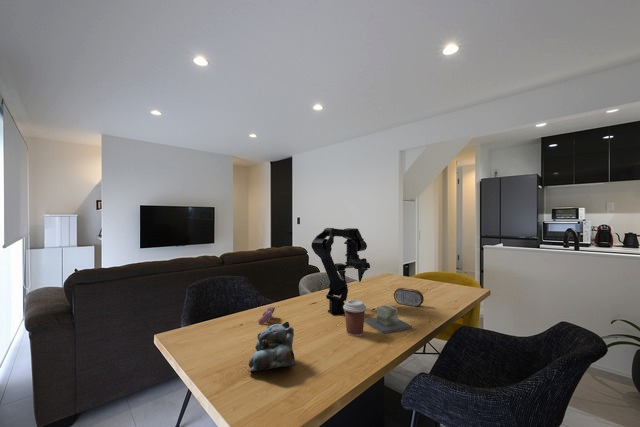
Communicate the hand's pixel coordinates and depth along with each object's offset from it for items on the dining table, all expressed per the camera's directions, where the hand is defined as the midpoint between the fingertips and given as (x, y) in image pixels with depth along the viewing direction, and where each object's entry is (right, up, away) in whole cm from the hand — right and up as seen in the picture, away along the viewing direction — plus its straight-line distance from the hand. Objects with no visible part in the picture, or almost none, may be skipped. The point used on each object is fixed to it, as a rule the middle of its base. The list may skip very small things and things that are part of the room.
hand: (352, 282), depth 142 cm
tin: (+30, -12, +2) cm, 32 cm away
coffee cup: (-3, -11, -34) cm, 36 cm away
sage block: (+12, -10, -26) cm, 30 cm away
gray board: (+12, -11, -26) cm, 30 cm away
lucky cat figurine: (-31, -11, -59) cm, 68 cm away
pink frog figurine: (-40, -12, -21) cm, 46 cm away
